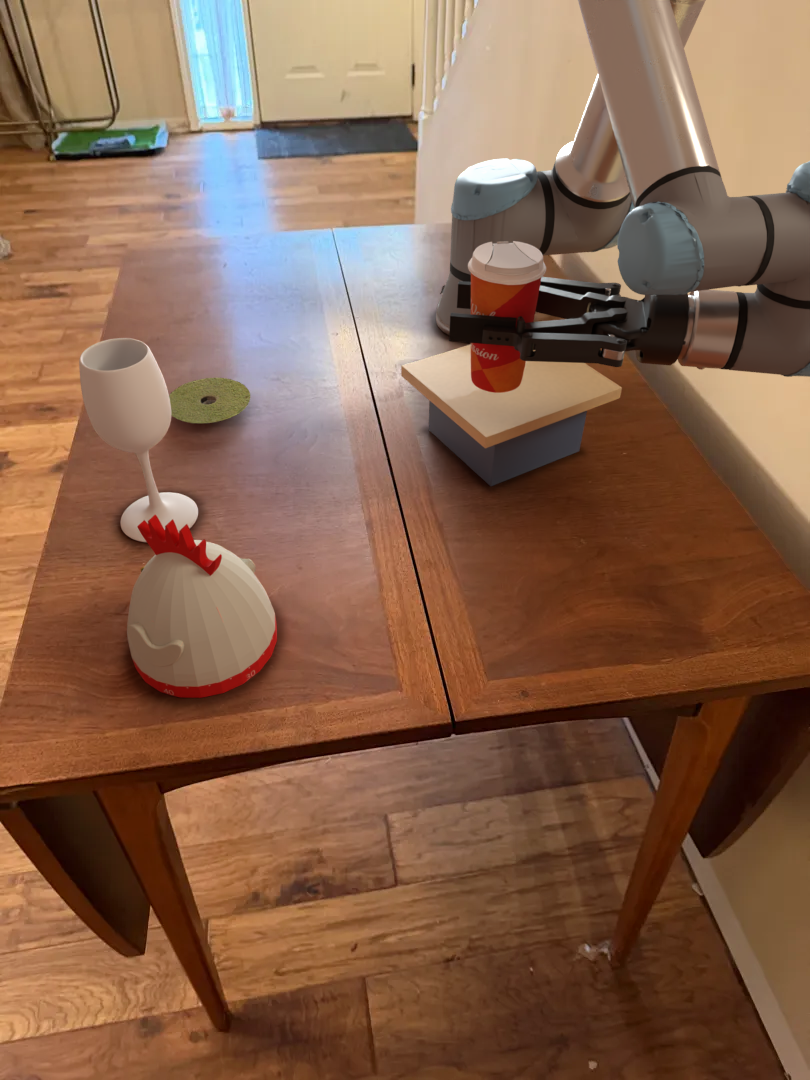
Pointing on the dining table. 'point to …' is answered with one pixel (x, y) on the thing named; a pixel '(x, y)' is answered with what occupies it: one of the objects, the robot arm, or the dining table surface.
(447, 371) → the stand
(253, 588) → the kitchen timer
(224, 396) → the green disc with hole
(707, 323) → the robot arm
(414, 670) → the dining table surface
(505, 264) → the paper cup
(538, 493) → the dining table surface
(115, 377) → the wineglass
